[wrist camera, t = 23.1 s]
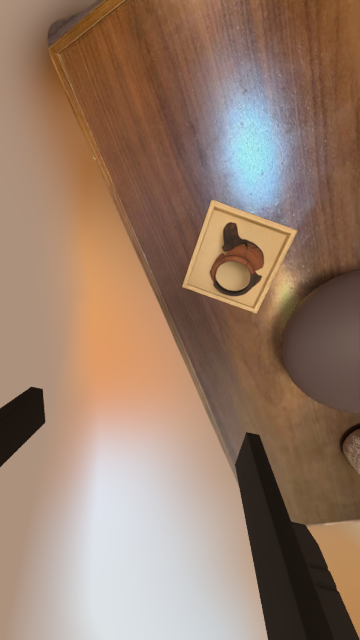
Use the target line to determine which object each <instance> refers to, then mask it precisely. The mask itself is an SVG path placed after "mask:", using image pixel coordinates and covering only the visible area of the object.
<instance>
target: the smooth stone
mask: <svg viewBox="0 0 360 640" xmlns="http://www.w3.org/2000/svg"><path fill="white" fill-rule="evenodd" d="M281 352H282V359H283V363H284V366H285V369H286V371H287V372H288V374H289V376H290V377H291V379H292V381H293V382H294V384H295V385H296V386H297V387H298V388H299V389H300V390H301V391H302V392H304V393H305V394H306V395H308V396H309V397H311V398H312V399H314V400H315V401H317V402H318V403H321V404H323V405H326V406H328V407H331V408H333V409H336V410H339V411H344V412H349V413H357V414H360V270H356V271H351V272H348V273H346V274H343V275H340V276H338V277H335V278H333V279H331V280H329V281H328V282H326V283H324V284H322V285H321V286H319V287H318V288H316V289H315V290H314V291H312V292H311V293H310V294H309V295H307V296H306V297H305V298H304V299H303V300H302V301H301V302H300V303H299V304H298V306H297V307H296V308H295V309H294V311H293V312H292V314H291V316H290V317H289V319H288V321H287V323H286V326H285V329H284V331H283V337H282V343H281Z"/></svg>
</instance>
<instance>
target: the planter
mask: <svg viewBox="0 0 360 640" xmlns="http://www.w3.org/2000/svg"><path fill="white" fill-rule="evenodd" d="M343 453H344V455H345V457H346V458H347V459H348V461H349V462H350V463H351V465H352V466H353V467H354V468H355V470H356V471H357V472H358V473H359V475H360V428H359V429H357V430H355V431H354V432H352V433H351V434H350V435H349V436H348V437H347V438H346V439H345V441H344V443H343Z"/></svg>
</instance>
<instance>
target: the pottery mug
mask: <svg viewBox="0 0 360 640" xmlns="http://www.w3.org/2000/svg"><path fill="white" fill-rule="evenodd" d="M223 238H224V245H223V246H222V249H223V251H228V252H227V253H226V254H225V255H224V254H223V253H221V254H220V255H219V256H218V257H217V259H216V260H215V262H214V264H213V266H212V268H211V270H210V276H211V278H212V280H213V282H214V283H213V285H214V287H215V288H216V289H217V290H218V291H219V292H221V293H222V294H225V295H228V296H241V295H244V294H246V293H247V292H248V291H249V290H251V288H252V287H254V286H255V285H256V284H257V283H259V282H260V280H261V278H262V275H260V276H259V275H258V274H257V273H256V272H255V271H257V270H259V269H261V268H263V265H264V254H263V252H262V250H261V249H260V248H259V247H258V246H257V245H256V244H255V243H253V242H251V241H248V240H246V239H241V238H240V236H239V235H238V229H237V224H236V223H232V222H229V223H227V224H226V226H225V227H224V229H223ZM244 244H245V245H244ZM228 261H235V262H239V263H241V264H243V265H244V266H245V267H246V268H247V269H248V271H249V273H250V282H249V284H248V285H247V286H246V287H245V288H244V289H242V290H238V291H231V290H228V289H225V288H223V287H222V286H221V285H220V284H219V283H218V281H217V280H216V276H215V275H216V271H217V269H218V267H219V266H220V265H222V264H223V263H225V262H228Z"/></svg>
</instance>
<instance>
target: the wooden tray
mask: <svg viewBox="0 0 360 640" xmlns="http://www.w3.org/2000/svg"><path fill="white" fill-rule="evenodd" d="M229 222H232V223H236V224H237V229H238V235H239V236H240V238H241V239H246V240H248V241H251V242H253V243H255V244H256V245H257V246H258V247H259V248H260V249H261V250H262V252H263V254H264V265H263V268H261V269H259V270H257V271H255V272H256V273H257V274H258V275H259V276H260V275H262V278H261V280H260V282H259V283H257V284H256V285H255V286H254V287H252V288H251V290H249V291H248V292H247V293H246V294H244V295H241V296H228V295H225V294H222V293H221V292H219V291H218V290H217V289H216V288H215V287H214V285H213V283H214V282H213V280H212V278H211V276H210V270H211V268H212V266H213V264H214V262H215V260H216V259H217V257H218V256H219V255H220V254H221V253H223V254H224V255H225V254H226V253H227V252H228V251H223V249H222V246H223V245H224V238H223V229H224V227H225V226H226V224H227V223H229ZM296 233H297V230H294V229H292V228H289V227H286V226H283V225H281V224H278V223H275V222H272V221H269V220H267V219H264V218H261V217H258V216H255V215H253V214H250V213H247V212H244V211H242V210H239V209H236V208H233V207H230V206H228V205H225V204H222V203H219V202H216V201H213V200H212V201H211V204H210V207H209V209H208V212H207V215H206V218H205V221H204V224H203V227H202V230H201V233H200V236H199V239H198V242H197V245H196V247H195V250H194V253H193V256H192V259H191V262H190V265H189V268H188V271H187V274H186V277H185V280H184V282H183V285H182V287H184V288H187V289H190V290H192V291H195V292H198V293H201V294H203V295H206V296H209V297H212V298H214V299H217V300H220V301H223V302H226V303H228V304H231V305H234V306H237V307H239V308H242V309H245V310H248V311H251V312H253V313H257V312H258V310H259V308H260V306H261V304H262V301H263V299H264V297H265V295H266V293H267V291H268V289H269V287H270V285H271V283H272V281H273V279H274V277H275V275H276V273H277V271H278V269H279V267H280V265H281V263H282V261H283V259H284V257H285V255H286V253H287V251H288V249H289V247H290V245H291V243H292V241H293V239H294V237H295V235H296ZM244 245H245V244H244ZM215 276H216V280H217V281H218V283H219V284H220V285H221V286H222V287H223V288H225V289H228V290H231V291H238V290H242V289H244V288H245V287H246V286H247V285H248V284H249V282H250V273H249V271H248V269H247V268H246V267H245V266H244V265H243V264H241V263H239V262H235V261H228V262H225V263H223V264H222V265H220V266H219V267H218V269H217V271H216V275H215Z"/></svg>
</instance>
